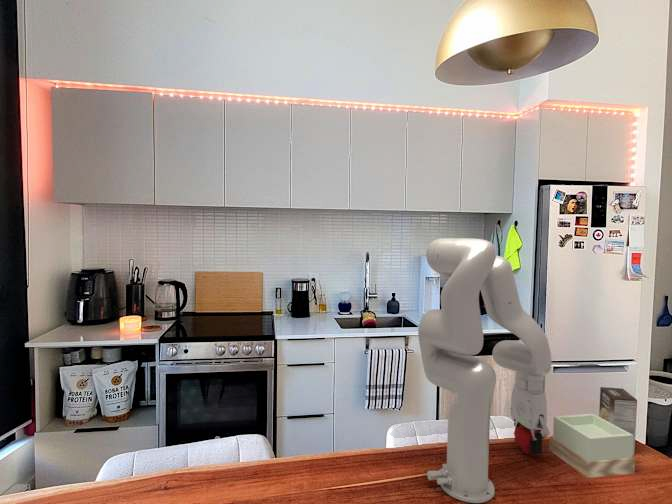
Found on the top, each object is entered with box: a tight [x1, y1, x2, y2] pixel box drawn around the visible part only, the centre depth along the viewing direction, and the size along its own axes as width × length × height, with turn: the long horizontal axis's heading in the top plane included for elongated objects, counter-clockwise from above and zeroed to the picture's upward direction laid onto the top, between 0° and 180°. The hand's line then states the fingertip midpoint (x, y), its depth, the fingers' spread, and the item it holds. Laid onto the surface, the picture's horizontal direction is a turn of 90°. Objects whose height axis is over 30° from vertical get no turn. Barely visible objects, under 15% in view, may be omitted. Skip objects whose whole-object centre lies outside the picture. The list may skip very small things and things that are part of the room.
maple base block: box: [548, 435, 636, 479], centre depth 111 cm, size 14×14×4 cm
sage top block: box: [552, 413, 634, 462], centre depth 111 cm, size 13×13×6 cm
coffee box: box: [598, 386, 638, 456], centre depth 119 cm, size 9×6×16 cm
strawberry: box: [513, 424, 538, 455], centre depth 114 cm, size 6×8×10 cm
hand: (527, 446), depth 114 cm, fingers closed on strawberry, 6 cm apart
